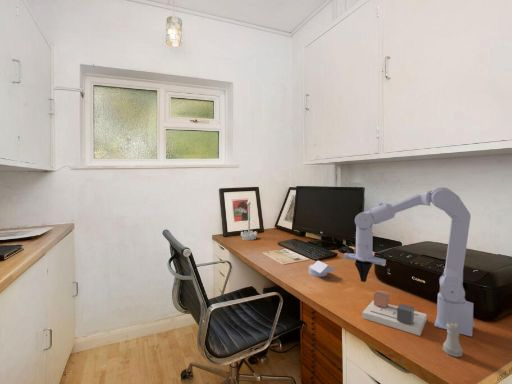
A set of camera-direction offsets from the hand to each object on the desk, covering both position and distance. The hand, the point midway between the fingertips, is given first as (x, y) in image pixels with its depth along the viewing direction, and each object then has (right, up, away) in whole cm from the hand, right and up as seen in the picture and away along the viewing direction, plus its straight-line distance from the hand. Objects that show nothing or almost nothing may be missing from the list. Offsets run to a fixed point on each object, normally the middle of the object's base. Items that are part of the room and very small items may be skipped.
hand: (363, 281), depth 101 cm
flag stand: (-45, -5, +119) cm, 128 cm away
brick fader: (+5, -7, -4) cm, 9 cm away
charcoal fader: (+7, -7, -15) cm, 18 cm away
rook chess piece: (+13, -11, -27) cm, 32 cm away
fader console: (+6, -10, -9) cm, 15 cm away
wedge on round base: (-8, -8, +34) cm, 36 cm away
